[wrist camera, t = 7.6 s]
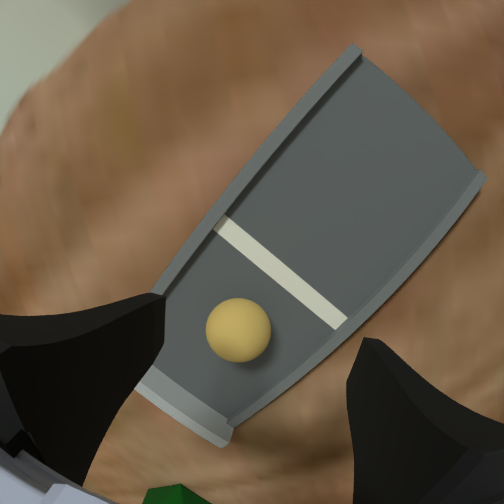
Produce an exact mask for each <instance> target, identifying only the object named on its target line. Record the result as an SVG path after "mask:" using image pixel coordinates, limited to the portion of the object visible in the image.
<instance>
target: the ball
mask: <svg viewBox="0 0 504 504" xmlns="http://www.w3.org/2000/svg"><path fill="white" fill-rule="evenodd" d="M206 337H207V341H208V343H209V345H210V347H211V349H212V350H213V351H214V352H215V353H216V354H217V355H218V356H219V357H221V358H223V359H225V360H227V361H230V362H238V363H239V362H247V361H250V360H252V359H254V358H256V357H258V356H259V355H260V354H261V353H262V352H263V351H264V350H265V348H266V347H267V345H268V343H269V340H270V337H271V325H270V321H269V318H268V316H267V314H266V312H265V311H264V310H263V309H262V308H261V307H260V306H259V305H258V304H256V303H255V302H253V301H251V300H248V299H244V298H233V299H229V300H226V301H223V302H222V303H220V304H219V305H217V306H216V307H215V308H214V309H213V310H212V312H211V313H210V315H209V317H208V320H207V323H206Z"/></svg>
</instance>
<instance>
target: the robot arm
mask: <svg viewBox="0 0 504 504" xmlns="http://www.w3.org/2000/svg"><path fill="white" fill-rule="evenodd" d="M165 311H166V296H163V295H159V294H155V293H152V292H151V293H145V294H141V295H138V296H134V297H131V298H127V299H124V300H121V301H117V302H114V303H111V304H107V305H103V306H99V307H95V308H91V309H87V310H83V311H78V312H72V313H65V314H57V315H42V316H14V315H2V314H0V504H119V503H116V502H114V501H112V500H110V499H108V498H106V497H103V496H101V495H99V494H96V493H94V492H91V491H89V490H87V489H85V488H83V487H82V486H83V483H84V481H85V478H86V475H87V473H88V470H89V468H90V466H91V463H92V461H93V459H94V457H95V454H96V452H97V450H98V448H99V446H100V444H101V442H102V440H103V438H104V436H105V434H106V432H107V430H108V428H109V426H110V425H111V423H112V421H113V419H114V417H115V416H116V414H117V412H118V410H119V409H120V407H121V406H122V404H123V403H124V401H125V400H126V399H127V397H128V396H129V395H130V393H131V392H132V391H133V390H134V388H135V387H136V386H137V384H138V383H139V382H140V380H141V379H142V378H143V376H144V375H145V374H146V372H147V371H148V370H149V368H150V367H151V366H152V364H153V363H154V361H155V360H156V358H157V356H158V354H159V352H160V350H161V348H162V347H163V345H164V340H165ZM346 397H347V410H348V417H349V424H350V431H351V437H352V445H353V452H354V491H353V504H504V424H503V423H500V422H497V421H495V420H492V419H490V418H487V417H485V416H482V415H480V414H478V413H476V412H474V411H472V410H470V409H468V408H466V407H465V406H463V405H461V404H459V403H457V402H456V401H454V400H452V399H451V398H449V397H448V396H447V395H445V394H444V393H442V392H441V391H439V390H438V389H436V388H435V387H434V386H432V385H431V384H430V383H429V382H427V381H426V380H425V379H424V378H423V377H421V376H420V375H419V374H418V373H417V372H416V371H414V370H413V369H412V368H411V367H410V366H409V365H408V364H407V363H406V362H405V361H403V360H402V359H401V358H400V357H399V356H398V355H397V354H396V353H395V352H394V351H393V350H392V349H391V348H389V347H388V346H387V345H386V344H385V343H383V342H382V341H381V340H379V339H373V338H366V337H364V338H363V341H362V343H361V346H360V349H359V351H358V354H357V357H356V359H355V362H354V364H353V367H352V369H351V372H350V374H349V377H348V379H347V381H346Z"/></svg>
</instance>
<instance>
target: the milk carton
mask: <svg viewBox="0 0 504 504" xmlns="http://www.w3.org/2000/svg"><path fill="white" fill-rule="evenodd" d="M142 504H211V503H209V502H207V501H206V500H204V499H203V498H201V497H199V496H198V495H196V494H195V493H193V492H192V491H190V490H189V489H187V488H186V487H184V486H183V485H181V484H177V485H172V486H165V487H159V488H152V489H148V491H147V493H146V496H145V498H144V501H143V503H142Z"/></svg>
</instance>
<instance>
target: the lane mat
mask: <svg viewBox="0 0 504 504" xmlns="http://www.w3.org/2000/svg"><path fill="white" fill-rule="evenodd" d="M362 52H363V50H361V49H360V48H359V47H357V46H356V45H355V44H353V43H352V44H351V45H350V46H349V47H348V48H347V49H346V50H345V51H344V52H343V53H342V55H341V56H340V57H339V58H338V59H337V60H336V61H335V62H334V63H333V64H332V65H331V66H330V67H329V68H328V70H327V71H326V72H325V73H324V74H323V75H322V76H321V77H320V78H319V79H318V80H317V82H316V83H315V84H314V85H313V86H312V87H311V88H310V89H309V90H308V92H307V93H306V94H305V95H304V96H303V97H302V98H301V99H300V101H299V102H298V103H297V104H296V105H295V106H294V107H293V109H292V110H291V111H290V112H289V113H288V114H287V116H286V117H285V118H284V119H283V120H282V121H281V123H280V124H279V125H278V126H277V127H276V128H275V130H274V131H273V132H272V133H271V134H270V136H269V137H268V138H267V139H266V140H265V142H264V143H263V144H262V145H261V146H260V148H259V149H258V150H257V151H256V152H255V154H254V155H253V156H252V157H251V158H250V160H249V161H248V162H247V163H246V165H245V166H244V167H243V168H242V170H241V171H240V172H239V173H238V175H237V176H236V177H235V178H234V180H233V181H232V182H231V183H230V185H229V186H228V187H227V188H226V190H225V191H224V192H223V194H222V195H221V196H220V197H219V199H218V200H217V201H216V203H215V204H214V205H213V206H212V208H211V209H210V210H209V212H208V213H207V214H206V216H205V217H204V218H203V220H202V221H201V222H200V223H199V225H198V226H197V227H196V229H195V230H194V231H193V233H192V234H191V235H190V237H189V238H188V240H187V241H186V242H185V244H184V245H183V246H182V248H181V249H180V250H179V252H178V253H177V255H176V256H175V257H174V259H173V260H172V261H171V263H170V264H169V266H168V267H167V268H166V270H165V271H164V273H163V274H162V275H161V277H160V278H159V280H158V281H157V282H156V284H155V285H154V287H153V288H152V290H151V291H150V292H149V293H151V292H152V293H155V294H159V295H163V296H166V311H165V340H164V345H163V347H162V348H161V350H160V352H159V354H158V356H157V358H156V360H155V361H154V363H153V364H152V366H151V367H150V368H149V370H148V371H147V372H146V374H145V375H144V376H143V378H142V379H141V380H140V382H139V383H138V384H137V386H136V387H135V388H134V389H135V390H136V391H137V392H139V393H140V394H141V395H143V396H144V397H145V398H147V399H148V400H149V401H150V402H152V403H153V404H155V405H156V406H157V407H159V408H160V409H161V410H163V411H164V412H166V413H167V414H168V415H170V416H171V417H173V418H174V419H176V420H177V421H178V422H180V423H181V424H183V425H184V426H186V427H187V428H189V429H191V430H192V431H194V432H195V433H197V434H198V435H200V436H201V437H203V438H205V439H206V440H208V441H210V442H211V443H213V444H214V445H216V446H218V447H220V448H223V447H224V446H226V445H228V444H229V443H230V440H231V437H232V433H233V430H234V428H235V427H236V426H238V425H239V424H241V423H242V422H244V421H245V420H246V419H248V418H249V417H251V416H252V415H253V414H255V413H256V412H258V411H259V410H260V409H262V408H263V407H264V406H266V405H267V404H268V403H270V402H271V401H272V400H274V399H275V398H276V397H278V396H279V395H280V394H281V393H283V392H284V391H285V390H287V389H288V388H289V387H290V386H292V385H293V384H294V383H295V382H297V381H298V380H299V379H300V378H302V377H303V376H304V375H305V374H306V373H308V372H309V371H310V370H311V369H312V368H314V367H315V366H316V365H317V364H318V363H320V362H321V361H322V360H323V359H324V358H325V357H326V356H328V355H329V354H330V353H331V352H332V351H333V350H334V349H336V348H337V347H338V346H339V345H340V344H341V343H342V342H343V341H344V340H346V339H347V338H348V337H349V336H350V335H351V334H352V333H353V332H354V331H355V330H356V329H357V328H358V327H359V326H361V325H362V324H363V323H364V322H365V321H366V320H367V319H368V318H369V317H370V316H371V315H372V314H373V313H374V312H375V311H376V310H377V309H378V308H379V307H380V306H381V305H382V304H383V303H384V302H385V301H386V300H387V299H388V298H389V297H390V296H391V295H392V294H393V293H394V292H395V291H396V290H397V289H398V287H399V286H400V285H401V284H402V283H403V282H404V281H405V280H406V279H407V278H408V277H409V276H410V275H411V273H412V272H413V271H414V270H415V269H416V268H417V267H418V266H419V265H420V263H421V262H422V261H423V260H424V259H425V258H426V257H427V255H428V254H429V253H430V252H431V251H432V250H433V248H434V247H435V246H436V245H437V244H438V243H439V241H440V240H441V239H442V238H443V237H444V235H445V234H446V233H447V232H448V230H449V229H450V228H451V227H452V225H453V224H454V223H455V222H456V220H457V219H458V218H459V216H460V215H461V214H462V213H463V211H464V210H465V209H466V207H467V206H468V205H469V203H470V202H471V201H472V199H473V198H474V197H475V195H476V194H477V192H478V191H479V190H480V188H481V187H482V185H483V184H484V183H485V181H486V180H487V177H486V176H485V174H484V173H483V172H482V170H481V169H476V168H475V167H474V166H473V164H472V163H471V162H470V161H469V159H468V158H467V157H466V156H465V154H464V153H463V152H462V151H461V150H460V148H459V147H458V146H457V145H456V144H455V143H454V141H453V140H452V139H451V138H450V137H449V136H448V135H447V133H446V132H445V131H444V130H443V129H442V128H441V127H440V126H439V125H438V124H437V122H436V121H435V120H434V119H433V118H432V117H431V116H430V115H429V114H428V113H427V112H426V111H425V110H424V109H423V108H422V107H421V106H420V105H419V104H418V103H417V102H416V101H415V100H414V99H413V98H412V97H411V96H410V95H409V94H407V93H406V92H405V91H404V90H403V89H402V88H401V87H400V86H399V85H398V84H397V83H395V82H394V81H393V80H392V79H391V78H390V77H389V76H387V75H386V74H385V73H384V72H383V71H382V70H380V69H379V68H378V67H377V66H375V65H374V64H373V63H372V62H371V61H369V60H368V59H367V58H366V57H364V56H363V55H362ZM233 298H244V299H248V300H251V301H253V302H255V303H256V304H258V305H259V306H260V307H261V308H262V309H263V310H264V311H265V312H266V314H267V316H268V318H269V321H270V325H271V337H270V340H269V343H268V345H267V347H266V348H265V350H264V351H263V352H262V353H261V354H260V355H259V356H258V357H256V358H254V359H252V360H250V361H247V362H239V363H238V362H230V361H227V360H225V359H223V358H221V357H219V356H218V355H217V354H216V353H215V352H214V351H213V350H212V349H211V347H210V345H209V343H208V341H207V337H206V323H207V320H208V317H209V315H210V313H211V312H212V310H213V309H214V308H215V307H216V306H217V305H219V304H220V303H222V302H223V301H226V300H229V299H233Z"/></svg>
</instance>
